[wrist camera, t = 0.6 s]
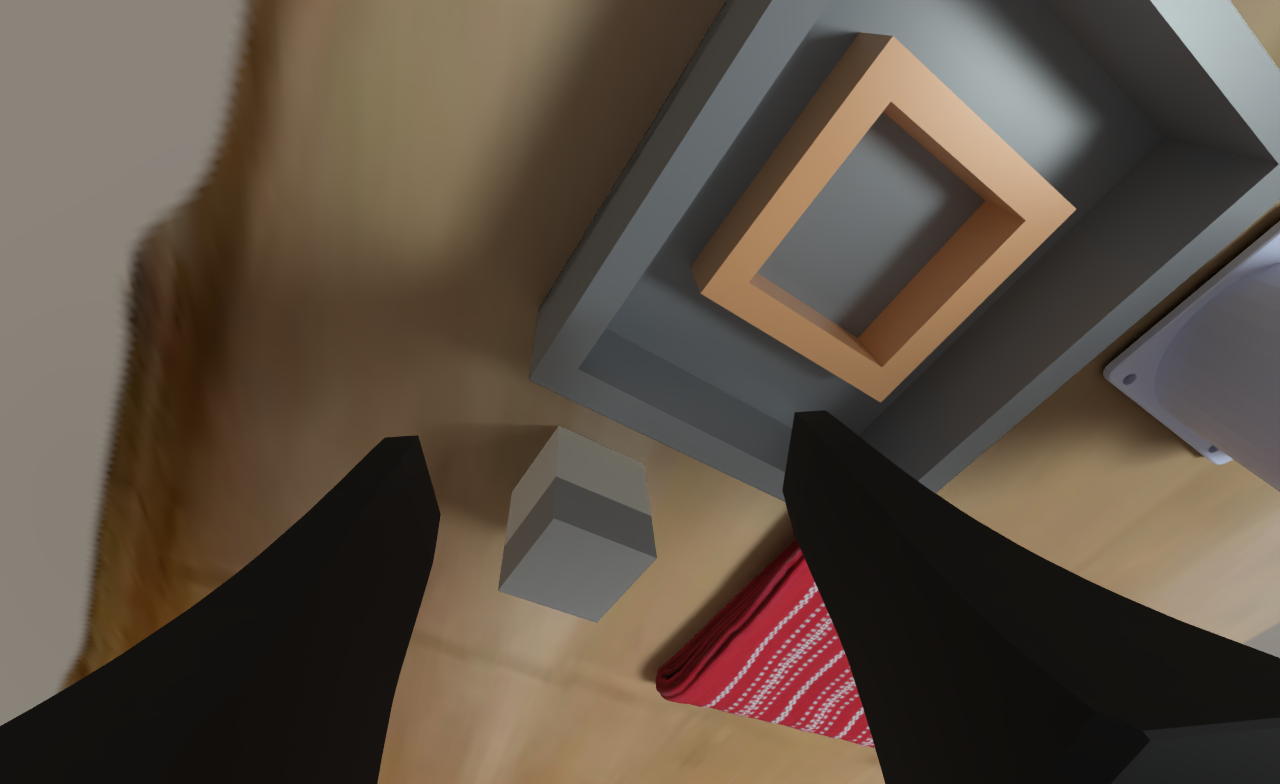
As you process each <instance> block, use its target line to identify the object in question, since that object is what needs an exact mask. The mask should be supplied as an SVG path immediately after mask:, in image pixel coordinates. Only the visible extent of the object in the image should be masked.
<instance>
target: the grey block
mask: <svg viewBox="0 0 1280 784" xmlns="http://www.w3.org/2000/svg"><path fill="white" fill-rule="evenodd" d="M656 558H657V556H656V548H655V541H654V534H653V527H652V519H651V512H650V505H649V497H648V490H647V483H646V475H645V468H644V464H643V463H640V462H638V461H636V460H634V459H631V458H629V457H627V456H625V455H623V454H620V453H618V452H616V451H614V450H612V449H609V448H607V447H605V446H603V445H601V444H598V443H596V442H594V441H592V440H590V439H587V438H585V437H583V436H581V435H579V434H576V433H574V432H572V431H570V430H568V429H565V428H563V427H561V426H558V427H557V429H556V430H555V432H554V433H553V434H552V436H551V437H550V439H549V440H548V441H547V443H546V444H545V446H544V447H543V449H542V450H541V451H540V453H539V454H538V456H537V457H536V459H535V460H534V461H533V463H532V464H531V466H530V467H529V468H528V470H527V471H526V473H525V474H524V476H523V477H522V478H521V480H520V481H519V483H518V484H517V486H516V487H515V488H514V490H513V491H512V495H511V502H510V509H509V516H508V523H507V531H506V538H505V545H504V552H503V559H502V566H501V573H500V580H499V588H498V591H500V592H503V593H506V594H509V595H513V596H516V597H519V598H522V599H525V600H528V601H531V602H534V603H537V604H540V605H544V606H547V607H550V608H553V609H556V610H559V611H562V612H565V613H568V614H571V615H574V616H578V617H581V618H584V619H587V620H590V621H593V622H596V623H597V622H598V621H599V620H600V619H601V618H602V616H603V615H604V614H605V613H606V612H607V611H608V610H609V609H610V608H611V607H612V606H613V605H614V604H615V603H616V601H617V600H618V599H619V598H620V597H621V596H622V595H623V594H624V593H625V592H626V591H627V590H628V589H629V587H630V586H631V585H632V584H633V583H634V582H635V581H636V580H637V579H638V578H639V577H640V576H641V575H642V574H643V572H644V571H645V570H646V569H647V568H648V567H649V566H650V565H651V564H652V563H653V562H654V561H655V560H656Z"/></svg>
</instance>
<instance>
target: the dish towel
mask: <svg viewBox="0 0 1280 784" xmlns="http://www.w3.org/2000/svg"><path fill="white" fill-rule="evenodd" d="M656 689H657V691H658V692H659V693H660V694H661V696H662V697H663V698H664V699H666V700H668V701H672V702H677V703H684V704H691V705H695V706H699V707H710V708H714V709H718V710H720V711H724V712H728V713H731V714H735V715H738V716H745V717H749V718H755V719H759V720H763V721H766V722H770V723H776V724H781V725H785V726H787V727H792V728H795V729H797V730H801V731H806V732H813V733H815V734H820V735H825V736H828V737H830V738H839V739H843V740H846V741H849V742H853V743H856V744H858V745H861V746H870V747H873V748H875V746H874V742H873V739H872V736H871V732H870V729H869V726H868V722H867V719H866V716H865V712H864V709H863V706H862V703H861V700H860V697H859V694H858V690H857V687H856V684H855V681H854V678H853V675H852V672H851V669H850V666H849V662H848V660H847V657H846V654H845V652H844V649H843V647H842V644H841V641H840V639H839V636H838V634H837V632H836V629H835V627H834V625H833V623H832V620H831V618H830V616H829V613H828V611H827V609H826V607H825V604H824V602H823V600H822V597H821V595H820V593H819V591H818V588H817V586H816V584H815V581H814V579H813V577H812V574H811V572H810V570H809V568H808V565H807V563H806V561H805V558H804V556H803V553H802V551H801V549H800V546H799V544H798V542H797V539H796V540H795V541H794V542H793V543H792V544H791V545H790V546H789V547H788V548H786V549H785V550H784V551H783V552H782V553H781V554H780V555H779V556H778V557H777V558H776V559H775V560H774V561H773V562H772V563H771V564H769V565H768V566H767V567H766V568H765V569H764V570H763V571H762V572H761V573H760V574H759V575H758V576H757V577H756V578H755V579H754V580H753V581H752V582H751V583H750V584H749V585H747V586H746V587H745V588H744V589H743V590H742V591H741V592H740V593H739V594H738V595H737V596H736V597H735V598H734V599H733V600H732V601H731V602H730V603H729V604H728V605H727V606H726V607H725V608H723V609H722V610H721V611H720V612H719V613H718V614H717V615H716V616H715V617H714V618H713V619H712V620H711V621H710V622H709V623H708V624H707V625H706V626H705V627H704V628H703V629H702V630H701V631H700V632H699V633H698V634H696V635H695V636H694V638H693V639H692V640H691V641H690V642H689V643H687V644H686V645H685V646H684V647H683V648H682V649H681V650H680V651H679V652H678V653H677V654H676V655H675V656H674V657H673V658H671V659H670V660H669V661H668V662H667V663H665V664H664V665H663V666H662V667H661V668H660V669H659V670H658V673H657V677H656Z"/></svg>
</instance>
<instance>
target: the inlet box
mask: <svg viewBox="0 0 1280 784" xmlns="http://www.w3.org/2000/svg"><path fill="white" fill-rule="evenodd" d="M1279 200H1280V70H1279V69H1278V67H1277V66H1276V64H1275V63H1274V62H1273V60H1272V59H1271V57H1270V56H1269V55H1268V53H1267V52H1266V50H1265V49H1264V48H1263V46H1262V45H1261V43H1260V42H1259V41H1258V39H1257V38H1256V36H1255V35H1254V34H1253V32H1252V31H1251V29H1250V28H1249V26H1248V25H1247V24H1246V22H1245V21H1244V19H1243V18H1242V17H1241V15H1240V14H1239V12H1238V11H1237V10H1236V8H1235V7H1234V5H1233V4H1232V3H1231V1H1230V0H727V1H726V3H725V4H724V6H723V8H722V9H721V11H720V12H719V14H718V16H717V17H716V19H715V21H714V22H713V24H712V26H711V27H710V29H709V30H708V32H707V34H706V35H705V37H704V39H703V40H702V42H701V44H700V45H699V47H698V49H697V50H696V52H695V53H694V55H693V57H692V58H691V60H690V62H689V63H688V65H687V67H686V68H685V70H684V72H683V73H682V75H681V76H680V78H679V80H678V81H677V83H676V85H675V86H674V88H673V90H672V91H671V93H670V95H669V96H668V98H667V99H666V101H665V103H664V104H663V106H662V108H661V109H660V111H659V113H658V114H657V116H656V118H655V119H654V121H653V122H652V124H651V126H650V127H649V129H648V131H647V132H646V134H645V136H644V137H643V139H642V141H641V142H640V144H639V145H638V147H637V149H636V150H635V152H634V154H633V155H632V157H631V159H630V160H629V162H628V164H627V165H626V167H625V168H624V170H623V172H622V173H621V175H620V177H619V178H618V180H617V182H616V183H615V185H614V186H613V188H612V190H611V191H610V193H609V195H608V196H607V198H606V200H605V201H604V203H603V205H602V206H601V208H600V209H599V211H598V213H597V214H596V216H595V218H594V219H593V221H592V223H591V224H590V226H589V228H588V229H587V231H586V232H585V234H584V236H583V237H582V239H581V241H580V242H579V244H578V246H577V247H576V249H575V251H574V252H573V254H572V255H571V257H570V259H569V260H568V262H567V264H566V265H565V267H564V269H563V270H562V272H561V274H560V275H559V277H558V278H557V280H556V282H555V283H554V285H553V287H552V288H551V290H550V292H549V293H548V295H547V297H546V298H545V300H544V301H543V303H542V305H541V306H540V308H539V310H538V317H537V324H536V331H535V338H534V345H533V352H532V360H531V367H530V374H529V380H530V381H532V382H534V383H536V384H538V385H540V386H542V387H545V388H547V389H549V390H551V391H553V392H555V393H557V394H559V395H561V396H563V397H566V398H568V399H570V400H572V401H574V402H576V403H578V404H580V405H582V406H585V407H587V408H589V409H591V410H593V411H595V412H597V413H599V414H601V415H603V416H606V417H608V418H610V419H612V420H614V421H616V422H618V423H620V424H622V425H625V426H627V427H629V428H631V429H633V430H635V431H637V432H639V433H641V434H643V435H646V436H648V437H650V438H652V439H654V440H656V441H658V442H660V443H662V444H664V445H667V446H669V447H671V448H673V449H675V450H677V451H679V452H681V453H683V454H686V455H688V456H690V457H692V458H694V459H696V460H698V461H700V462H702V463H704V464H707V465H709V466H711V467H713V468H715V469H717V470H719V471H721V472H723V473H725V474H728V475H730V476H732V477H734V478H736V479H738V480H740V481H742V482H744V483H747V484H749V485H751V486H753V487H755V488H757V489H759V490H761V491H763V492H765V493H768V494H770V495H772V496H774V497H776V498H778V499H780V500H782V501H784V502H785V499H784V495H783V491H782V489H783V482H784V476H785V470H786V464H787V457H788V451H789V445H790V438H791V432H792V426H793V420H794V413H795V412H805V411H821V410H826V411H827V412H828V413H830V414H831V415H833V416H834V417H835V418H837V419H838V420H839V421H840V422H842V423H843V424H844V425H846V426H847V427H848V428H849V429H851V430H852V431H853V432H854V433H856V434H857V435H858V436H859V437H861V438H862V439H863V440H865V441H866V442H867V443H868V444H870V445H871V446H872V447H873V448H875V449H876V450H877V451H879V452H880V453H881V454H882V455H884V456H885V457H886V458H888V459H889V460H890V461H892V462H893V463H894V464H895V465H897V466H898V467H899V468H901V469H902V470H903V471H905V472H906V473H907V474H909V475H910V476H912V477H913V478H914V479H916V480H917V481H919V482H920V483H921V484H923V485H924V486H925V487H927V488H928V489H930V490H931V491H933V492H934V493H936V492H938V491H939V490H940V489H941V488H942V487H943V486H945V485H946V484H947V483H948V482H949V481H950V480H952V479H953V478H954V477H955V476H956V475H958V474H959V473H960V472H961V471H962V470H963V469H965V468H966V467H967V466H968V465H969V464H970V463H972V462H973V461H974V460H975V459H976V458H977V457H979V456H980V455H981V454H982V453H983V452H985V451H986V450H987V449H988V448H989V447H990V446H992V445H993V444H994V443H995V442H996V441H997V440H999V439H1000V438H1001V437H1002V436H1003V435H1005V434H1006V433H1007V432H1008V431H1009V430H1010V429H1012V428H1013V427H1014V426H1015V425H1016V424H1017V423H1019V422H1020V421H1021V420H1022V419H1023V418H1024V417H1026V416H1027V415H1028V414H1029V413H1030V412H1032V411H1033V410H1034V409H1035V408H1036V407H1037V406H1039V405H1040V404H1041V403H1042V402H1043V401H1044V400H1046V399H1047V398H1048V397H1049V396H1050V395H1052V394H1053V393H1054V392H1055V391H1056V390H1057V389H1059V388H1060V387H1061V386H1062V385H1063V384H1064V383H1066V382H1067V381H1068V380H1069V379H1070V378H1071V377H1073V376H1074V375H1075V374H1076V373H1077V372H1079V371H1080V370H1081V369H1082V368H1083V367H1084V366H1086V365H1087V364H1088V363H1089V362H1090V361H1091V360H1093V359H1094V358H1095V357H1096V356H1097V355H1099V354H1100V353H1101V352H1102V351H1103V350H1104V349H1106V348H1107V347H1108V346H1109V345H1110V344H1111V343H1113V342H1114V341H1115V340H1116V339H1117V338H1118V337H1120V336H1121V335H1122V334H1123V333H1124V332H1126V331H1127V330H1128V329H1129V328H1130V327H1131V326H1133V325H1134V324H1135V323H1136V322H1137V321H1138V320H1140V319H1141V318H1142V317H1143V316H1144V315H1146V314H1147V313H1148V312H1149V311H1150V310H1151V309H1153V308H1154V307H1155V306H1156V305H1157V304H1158V303H1160V302H1161V301H1162V300H1163V299H1164V298H1165V297H1167V296H1168V295H1169V294H1170V293H1171V292H1173V291H1174V290H1175V289H1176V288H1177V287H1178V286H1180V285H1181V284H1182V283H1183V282H1184V281H1185V280H1187V279H1188V278H1189V277H1190V276H1191V275H1193V274H1194V273H1195V272H1196V271H1197V270H1198V269H1200V268H1201V267H1202V266H1203V265H1204V264H1205V263H1207V262H1208V261H1209V260H1210V259H1211V258H1212V257H1214V256H1215V255H1216V254H1217V253H1218V252H1220V251H1221V250H1222V249H1223V248H1224V247H1225V246H1227V245H1228V244H1229V243H1230V242H1231V241H1232V240H1234V239H1235V238H1236V237H1237V236H1238V235H1240V234H1241V233H1242V232H1243V231H1244V230H1245V229H1247V228H1248V227H1249V226H1250V225H1251V224H1252V223H1254V222H1255V221H1256V220H1257V219H1258V218H1259V217H1261V216H1262V215H1263V214H1264V213H1265V212H1267V211H1268V210H1269V209H1270V208H1271V207H1272V206H1274V205H1275V204H1276V203H1277V202H1278V201H1279Z"/></svg>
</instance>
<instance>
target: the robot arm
mask: <svg viewBox="0 0 1280 784" xmlns="http://www.w3.org/2000/svg"><path fill="white" fill-rule="evenodd" d="M1103 376H1104V378H1105V379H1106V380H1108V381H1109V382H1110V383H1111V384H1113V385H1114V386H1115V387H1116V388H1118V389H1119V390H1120V391H1122V392H1123V393H1124V394H1125V395H1127V396H1128V397H1129V398H1131V399H1132V400H1133V401H1134V402H1136V403H1137V404H1138V405H1139V406H1141V407H1142V408H1143V409H1145V410H1146V411H1147V412H1148V413H1150V414H1151V415H1152V416H1153V417H1155V418H1156V419H1157V420H1159V421H1160V422H1161V423H1162V424H1164V425H1165V426H1166V427H1167V428H1169V429H1170V430H1171V431H1173V432H1174V433H1175V434H1176V435H1178V436H1179V437H1180V438H1181V439H1183V440H1184V441H1185V442H1187V443H1188V444H1189V445H1190V446H1192V447H1193V448H1194V449H1195V450H1197V451H1198V452H1199V453H1201V454H1202V455H1203V456H1204V457H1206V458H1207V459H1208V460H1210V461H1211V462H1212V463H1214V464H1216V465H1219V464H1225V463H1227V462H1229V461H1231V460H1232V459H1234V460H1235V461H1237V462H1238V463H1239V464H1241V465H1242V466H1244V467H1245V468H1247V469H1248V470H1249V471H1251V472H1252V473H1254V474H1255V475H1257V476H1258V477H1259V478H1261V479H1262V480H1264V481H1265V482H1266V483H1268V484H1269V485H1271V486H1272V487H1274V488H1275V489H1276V490H1278V491H1279V492H1280V221H1279V222H1278V223H1276V224H1275V225H1274V226H1273V227H1272V228H1270V229H1269V230H1268V231H1267V232H1266V233H1264V234H1263V235H1262V236H1261V237H1260V238H1259V239H1257V240H1256V241H1255V242H1254V243H1253V244H1251V245H1250V246H1249V247H1248V248H1247V249H1245V250H1244V251H1243V252H1242V253H1241V254H1239V255H1238V256H1237V257H1236V258H1235V259H1233V260H1232V261H1231V262H1230V263H1229V264H1227V265H1226V266H1225V267H1224V268H1223V269H1221V270H1220V271H1219V272H1218V273H1217V274H1215V275H1214V276H1213V277H1212V278H1211V279H1209V280H1208V281H1207V282H1206V283H1205V284H1204V285H1202V286H1201V287H1200V288H1199V289H1198V290H1196V291H1195V292H1194V293H1193V294H1192V295H1190V296H1189V297H1188V298H1187V299H1186V300H1184V301H1183V302H1182V303H1181V304H1180V305H1178V306H1177V307H1176V308H1175V309H1174V310H1172V311H1171V312H1170V313H1169V314H1168V315H1166V316H1165V317H1164V318H1163V319H1162V320H1160V321H1159V322H1158V323H1157V324H1156V325H1154V326H1153V327H1152V328H1151V329H1150V330H1149V331H1147V332H1146V333H1145V334H1144V335H1143V336H1141V337H1140V338H1139V339H1138V340H1137V341H1135V342H1134V343H1133V344H1132V345H1131V346H1129V347H1128V348H1127V349H1126V350H1125V351H1123V352H1122V353H1121V354H1120V355H1119V356H1117V357H1116V358H1115V359H1114V360H1113V361H1111V362H1110V363H1109V364H1108V365H1107V366H1106V367H1105V369H1104V371H1103ZM782 491H783V495H784V499H785V502H786V506H787V510H788V514H789V517H790V520H791V524H792V527H793V530H794V534H795V537H796V539H797V542H798V544H799V546H800V549H801V551H802V553H803V556H804V558H805V561H806V563H807V565H808V568H809V570H810V572H811V574H812V577H813V579H814V581H815V584H816V586H817V588H818V591H819V593H820V595H821V597H822V600H823V602H824V604H825V607H826V609H827V611H828V613H829V616H830V618H831V620H832V623H833V625H834V627H835V629H836V632H837V634H838V636H839V639H840V641H841V644H842V647H843V649H844V652H845V654H846V657H847V660H848V662H849V666H850V669H851V672H852V675H853V678H854V681H855V684H856V687H857V690H858V694H859V697H860V700H861V703H862V706H863V709H864V712H865V716H866V719H867V722H868V726H869V729H870V732H871V736H872V739H873V742H874V746H875V749H876V752H877V756H878V759H879V763H880V766H881V769H882V773H883V777H884V780H885V784H1280V658H1278V657H1275V656H1273V655H1270V654H1267V653H1265V652H1262V651H1259V650H1256V649H1254V648H1251V647H1249V646H1246V645H1243V644H1241V643H1238V642H1235V641H1233V640H1230V639H1227V638H1225V637H1222V636H1219V635H1217V634H1214V633H1211V632H1209V631H1206V630H1203V629H1201V628H1198V627H1195V626H1193V625H1190V624H1187V623H1185V622H1182V621H1180V620H1177V619H1175V618H1172V617H1170V616H1167V615H1165V614H1163V613H1160V612H1158V611H1156V610H1153V609H1151V608H1149V607H1146V606H1144V605H1142V604H1139V603H1137V602H1135V601H1132V600H1130V599H1128V598H1125V597H1123V596H1121V595H1118V594H1116V593H1114V592H1112V591H1110V590H1108V589H1105V588H1103V587H1101V586H1099V585H1097V584H1095V583H1092V582H1090V581H1088V580H1086V579H1084V578H1082V577H1080V576H1078V575H1076V574H1074V573H1072V572H1070V571H1068V570H1066V569H1064V568H1062V567H1060V566H1058V565H1056V564H1054V563H1052V562H1050V561H1048V560H1046V559H1044V558H1042V557H1040V556H1038V555H1036V554H1035V553H1033V552H1031V551H1029V550H1027V549H1025V548H1023V547H1021V546H1020V545H1018V544H1016V543H1014V542H1013V541H1011V540H1009V539H1007V538H1006V537H1004V536H1002V535H1001V534H999V533H997V532H995V531H994V530H992V529H990V528H989V527H987V526H985V525H983V524H982V523H980V522H978V521H977V520H975V519H974V518H972V517H970V516H969V515H967V514H966V513H964V512H962V511H961V510H959V509H958V508H956V507H955V506H953V505H952V504H950V503H949V502H947V501H946V500H945V499H943V498H942V497H940V496H939V495H937V494H936V493H934V492H933V491H931V490H930V489H928V488H927V487H925V486H924V485H923V484H921V483H920V482H919V481H917V480H916V479H914V478H913V477H912V476H910V475H909V474H907V473H906V472H905V471H903V470H902V469H901V468H899V467H898V466H897V465H895V464H894V463H893V462H892V461H890V460H889V459H888V458H886V457H885V456H884V455H882V454H881V453H880V452H879V451H877V450H876V449H875V448H873V447H872V446H871V445H870V444H868V443H867V442H866V441H865V440H863V439H862V438H861V437H859V436H858V435H857V434H856V433H854V432H853V431H852V430H851V429H849V428H848V427H847V426H846V425H844V424H843V423H842V422H840V421H839V420H838V419H837V418H835V417H834V416H833V415H831V414H830V413H828V412H827V411H826V410H821V411H805V412H795V413H794V420H793V426H792V432H791V438H790V445H789V451H788V457H787V464H786V470H785V476H784V482H783V489H782ZM439 521H440V511H439V507H438V504H437V500H436V497H435V493H434V490H433V486H432V483H431V479H430V476H429V472H428V469H427V465H426V462H425V458H424V455H423V451H422V448H421V444H420V441H419V437H418V436H403V437H387V438H384V439H383V440H382V441H381V442H380V443H379V444H378V445H376V446H375V447H374V448H373V449H372V450H371V451H370V452H369V453H368V454H367V455H366V456H365V457H364V458H363V459H362V460H361V461H360V462H359V463H358V464H357V465H356V466H355V467H354V468H353V469H352V470H351V471H350V472H349V473H348V474H347V475H346V476H345V477H344V478H343V479H342V480H341V481H340V482H339V483H338V484H337V485H336V486H335V487H334V488H333V489H332V490H330V491H329V492H328V493H327V494H326V495H325V496H324V497H323V498H322V499H321V500H320V501H319V502H318V503H317V504H316V505H315V506H314V507H313V508H312V509H311V510H310V511H309V512H307V513H306V514H305V515H304V516H303V517H302V518H301V519H300V520H298V521H297V522H296V523H295V524H294V525H293V526H292V527H290V528H289V529H288V530H287V531H286V532H285V533H284V534H283V535H281V536H280V537H279V538H278V539H277V540H276V541H275V542H273V543H272V544H271V545H270V546H269V547H268V548H267V549H265V550H264V551H263V552H262V553H261V554H260V555H259V556H257V557H256V558H255V559H254V560H253V561H251V562H250V563H249V564H248V565H246V566H245V567H244V568H243V569H241V570H240V571H239V572H238V573H236V574H235V575H234V576H233V577H231V578H230V579H229V580H227V581H226V582H225V583H223V584H222V585H221V586H219V587H218V588H217V589H215V590H214V591H213V592H211V593H210V594H209V595H207V596H206V597H205V598H203V599H202V600H201V601H199V602H198V603H197V604H195V605H194V606H192V607H191V608H190V609H188V610H187V611H186V612H184V613H183V614H181V615H180V616H178V617H177V618H175V619H174V620H172V621H171V622H169V623H168V624H166V625H165V626H163V627H162V628H160V629H159V630H157V631H156V632H154V633H153V634H151V635H150V636H148V637H147V638H145V639H144V640H142V641H141V642H139V643H138V644H136V645H135V646H133V647H132V648H130V649H129V650H127V651H126V652H125V653H123V654H122V655H120V656H118V657H117V658H115V659H114V660H112V661H110V662H109V663H107V664H106V665H104V666H102V667H101V668H99V669H97V670H96V671H94V672H93V673H91V674H89V675H88V676H86V677H84V678H83V679H81V680H80V681H78V682H76V683H75V684H73V685H71V686H70V687H68V688H66V689H64V690H63V691H61V692H59V693H58V694H56V695H54V696H52V697H51V698H49V699H47V700H46V701H44V702H43V703H41V704H39V705H37V706H36V707H34V708H32V709H30V710H28V711H27V712H25V713H23V714H21V715H19V716H18V717H16V718H14V719H12V720H11V721H9V722H7V723H5V724H4V725H2V726H0V784H377V782H378V776H379V770H380V765H381V759H382V754H383V748H384V743H385V738H386V733H387V728H388V723H389V718H390V712H391V707H392V702H393V698H394V694H395V690H396V686H397V682H398V679H399V675H400V671H401V668H402V665H403V661H404V658H405V655H406V651H407V648H408V645H409V642H410V638H411V635H412V632H413V628H414V625H415V622H416V618H417V615H418V612H419V608H420V605H421V602H422V598H423V595H424V592H425V588H426V585H427V581H428V578H429V575H430V571H431V567H432V564H433V559H434V553H435V547H436V541H437V535H438V528H439Z"/></svg>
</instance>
